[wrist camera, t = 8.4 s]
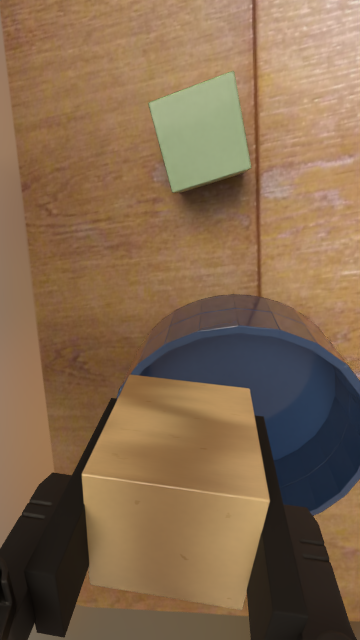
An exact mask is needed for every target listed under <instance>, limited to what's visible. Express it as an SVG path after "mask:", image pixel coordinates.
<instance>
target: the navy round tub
mask: <svg viewBox="0 0 360 640" xmlns="http://www.w3.org/2000/svg"><path fill="white" fill-rule="evenodd" d="M129 375H138V376H147V377H155V378H164V379H172V380H181V381H190V382H198V383H207V384H215V385H224V386H232V387H241V388H249V389H250V393H251V399H252V404H253V410H254V415H256V416H264V420H265V424H266V429H267V433H268V438H269V442H270V447H271V451H272V456H273V460H274V465H275V469H276V474H277V478H278V483H279V487H280V492H281V496H282V501H283V504H285V505H292V506H299V507H306V508H308V510H309V511H310V513H311V514H312V516H314V515H316V514H319V513H321V512H323V511H324V510H326V509H327V508H329V507H330V506H331V505H333V504H334V503H336V502H337V501H339V500H340V499H341V498H343V497H344V496H345V495H347V493H348V492H349V491H350V490H351V489H352V488H353V486H354V485H355V484H356V483H357V482H358V481H359V479H360V380H359V379H358V378H357V376H356V375H355V374H354V372H353V371H352V370H351V369H350V367H349V366H348V365H347V363H346V362H345V361H344V359H343V358H342V357H341V356H340V354H339V353H338V352H337V351H336V349H335V348H334V347H333V345H332V344H331V343H330V342H329V340H328V339H327V338H326V336H325V335H324V334H323V333H322V331H321V330H320V329H319V328H318V327H317V326H316V325H315V324H314V323H312V322H311V321H310V320H309V319H308V318H306V317H305V316H304V315H302V314H301V313H299V312H297V311H296V310H294V309H293V308H291V307H289V306H286V305H284V304H282V303H280V302H277V301H274V300H270V299H267V298H263V297H257V296H251V295H234V294H232V295H221V296H214V297H209V298H205V299H201V300H198V301H195V302H192V303H190V304H187V305H185V306H183V307H181V308H179V309H177V310H176V311H174V312H173V313H171V314H170V315H168V316H167V317H165V318H164V319H163V320H162V321H161V322H160V323H158V324H157V325H156V326H155V327H154V328H153V329H152V331H151V332H150V333H149V334H148V336H147V337H146V338H145V340H144V342H143V343H142V345H141V346H140V347H139V349H138V351H137V353H136V355H135V357H134V359H133V361H132V364H131V366H130V368H129V370H128V372H127V374H126V376H125V378H124V380H123V382H122V385H121V387H120V389H119V392H118V395H117V398H116V399H118V397H119V395H120V393H121V391H122V389H123V387H124V385H125V383H126V381H127V378H128V376H129Z"/></svg>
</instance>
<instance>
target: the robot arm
mask: <svg viewBox="0 0 360 640" xmlns="http://www.w3.org/2000/svg"><path fill="white" fill-rule="evenodd" d="M116 401H117V399H116V398H111V400H110V402H109V404H108V406H107V407H106V409H105V411H104V413H103V415H102V417H101V419H100V421H99V423H98V425H97V427H96V429H95V431H94V433H93V435H92V437H91V439H90V441H89V443H88V445H87V447H86V449H85V451H84V453H83V455H82V457H81V459H80V461H79V463H78V465H77V467H76V469H75V471H74V473H73V475H66V474H59V473H52V474H51V475H49V476H48V477H47V478H46V479H45V480H44V481H43V482H42V483H40V484H39V486H38V487H37V489H36V491H35V492H34V494H33V496H32V497H31V499H30V502H29V503H28V504H27V506H26V507H25V509H24V510H23V512H22V515H21V516H20V517H19V519H18V520H17V522H16V524H15V526H14V527H13V529H12V530H11V532H10V534H9V535H8V537H7V539H6V540H5V542H4V543H3V545H2V547H1V548H0V640H28V637H29V635H30V633H31V630H32V628H33V625H34V623H35V625H36V630H37V633H43V634H48V635H53V636H59V637H65V635H66V631H67V629H68V626H69V623H70V620H71V617H72V614H73V611H74V608H75V605H76V602H77V599H78V596H79V593H80V590H81V587H82V584H83V581H84V578H85V575H86V572H87V570H88V567H89V553H88V540H87V526H86V513H85V504H84V499H83V486H82V472H83V470H84V468H85V466H86V464H87V462H88V460H89V458H90V456H91V454H92V451H93V449H94V447H95V445H96V443H97V441H98V439H99V437H100V435H101V433H102V431H103V429H104V426H105V424H106V422H107V420H108V418H109V416H110V414H111V412H112V410H113V408H114V406H115V404H116ZM255 421H256V426H257V432H258V437H259V443H260V448H261V454H262V459H263V465H264V471H265V476H266V482H267V487H268V493H269V498H270V503H269V507H268V511H267V514H266V518H265V522H264V526H263V530H262V532H261V536H260V540H259V544H258V548H257V552H256V556H255V560H254V563H253V567H252V571H251V575H250V579H249V583H248V587H247V598H248V610H249V622H250V633H251V640H357V639H356V637H355V635H354V633H353V631H352V628H351V626H350V623H349V620H348V616H347V613H346V610H345V607H344V604H343V601H342V597H341V594H340V591H339V588H338V585H337V582H336V578H335V575H334V572H333V569H332V566H331V563H330V562H329V556H328V553H327V550H326V547H325V546H324V540H323V537H322V534H321V531H320V528H319V525H318V523H317V521H316V520H315V519H314V517H313V516H312V514H311V513H310V511H309V510H308V508H306V507H299V506H292V505H285V504H283V501H282V496H281V492H280V487H279V483H278V478H277V474H276V469H275V465H274V460H273V456H272V451H271V447H270V442H269V438H268V433H267V429H266V424H265V420H264V416H256V415H255Z"/></svg>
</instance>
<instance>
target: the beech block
mask: <svg viewBox="0 0 360 640" xmlns="http://www.w3.org/2000/svg"><path fill="white" fill-rule="evenodd" d="M82 486H83V499H84V504H85V513H86V526H87V540H88V553H89V578H90V584H91V585H96V586H102V587H108V588H114V589H120V590H126V591H132V592H138V593H144V594H149V595H155V596H161V597H167V598H173V599H179V600H185V601H191V602H197V603H203V604H209V605H215V606H221V607H227V608H232V609H238V610H242V608H243V604H244V600H245V596H246V592H247V587H248V583H249V579H250V575H251V571H252V567H253V563H254V560H255V556H256V552H257V548H258V544H259V540H260V536H261V532H262V530H263V526H264V522H265V518H266V514H267V511H268V507H269V503H270V498H269V493H268V487H267V482H266V476H265V471H264V465H263V459H262V454H261V448H260V443H259V437H258V432H257V426H256V421H255V415H254V410H253V404H252V399H251V393H250V389H249V388H241V387H232V386H224V385H215V384H207V383H198V382H190V381H181V380H172V379H164V378H155V377H147V376H138V375H129V376H128V378H127V381H126V383H125V385H124V387H123V389H122V391H121V393H120V395H119V397H118V399H117V401H116V404H115V406H114V408H113V410H112V412H111V414H110V416H109V418H108V420H107V422H106V424H105V426H104V429H103V431H102V433H101V435H100V437H99V439H98V441H97V443H96V445H95V447H94V449H93V451H92V454H91V456H90V458H89V460H88V462H87V464H86V466H85V468H84V470H83V472H82Z"/></svg>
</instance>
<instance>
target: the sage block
mask: <svg viewBox="0 0 360 640" xmlns="http://www.w3.org/2000/svg"><path fill="white" fill-rule="evenodd" d="M149 108H150V112H151V116H152V119H153V123H154V127H155V130H156V134H157V138H158V142H159V145H160V149H161V153H162V156H163V160H164V164H165V168H166V171H167V175H168V179H169V182H170V186H171V190H172V192H173V193H181V192H185V191H188V190H191V189H194V188H198V187H201V186H204V185H207V184H211V183H214V182H217V181H220V180H223V179H227V178H230V177H233V176H236V175H240V174H243V173H244V172H246V171H248V170H249V169H251V163H250V157H249V152H248V146H247V141H246V135H245V129H244V124H243V118H242V113H241V107H240V101H239V96H238V90H237V85H236V79H235V73H234V71H231V72H228V73H226V74H223V75H220V76H218V77H215V78H212V79H210V80H207V81H204V82H202V83H199V84H196V85H194V86H191V87H189V88H186V89H183V90H181V91H178V92H175V93H173V94H170V95H167V96H165V97H162V98H159V99H157V100H154V101H151V102H149Z"/></svg>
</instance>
